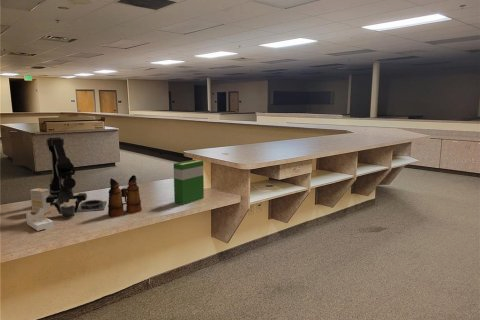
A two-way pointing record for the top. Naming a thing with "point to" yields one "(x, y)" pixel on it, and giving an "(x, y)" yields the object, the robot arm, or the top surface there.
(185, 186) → the hardback book
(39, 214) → the bracket
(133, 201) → the binoculars
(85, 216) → the top surface
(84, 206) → the barrel plate
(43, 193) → the supplement box
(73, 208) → the domed button housing
